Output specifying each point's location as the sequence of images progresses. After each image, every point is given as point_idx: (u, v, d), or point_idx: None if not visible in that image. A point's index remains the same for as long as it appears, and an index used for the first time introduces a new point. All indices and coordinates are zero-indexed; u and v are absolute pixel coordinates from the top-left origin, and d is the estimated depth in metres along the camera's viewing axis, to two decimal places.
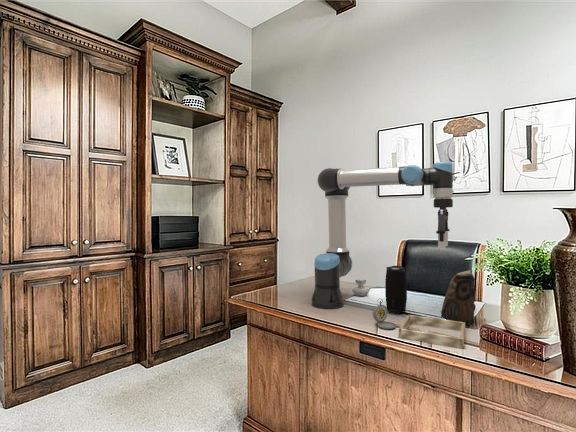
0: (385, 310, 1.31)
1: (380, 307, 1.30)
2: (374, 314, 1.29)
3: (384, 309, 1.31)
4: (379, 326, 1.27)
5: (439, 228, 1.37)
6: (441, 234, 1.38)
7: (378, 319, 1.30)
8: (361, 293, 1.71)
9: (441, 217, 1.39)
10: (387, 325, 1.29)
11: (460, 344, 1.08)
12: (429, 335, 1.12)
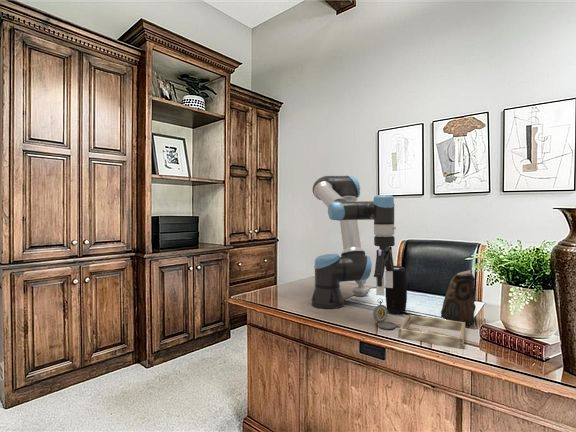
0: (385, 310, 1.31)
1: (380, 307, 1.30)
2: (374, 314, 1.29)
3: (384, 309, 1.31)
4: (379, 326, 1.27)
5: (376, 272, 1.20)
6: (379, 278, 1.21)
7: (378, 319, 1.30)
8: (361, 293, 1.71)
9: (379, 259, 1.22)
10: (387, 325, 1.29)
11: (460, 344, 1.08)
12: (429, 335, 1.12)
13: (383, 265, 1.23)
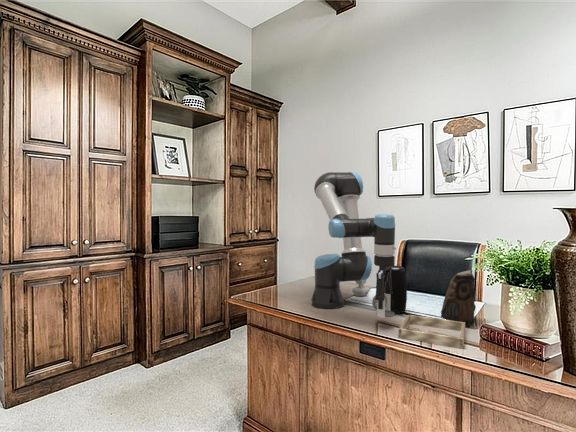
0: (384, 298, 1.32)
1: None
2: (373, 302, 1.30)
3: None
4: None
5: (377, 296, 1.23)
6: (380, 301, 1.24)
7: None
8: (361, 293, 1.71)
9: (379, 282, 1.23)
10: (386, 313, 1.30)
11: (460, 344, 1.08)
12: (429, 335, 1.12)
13: None
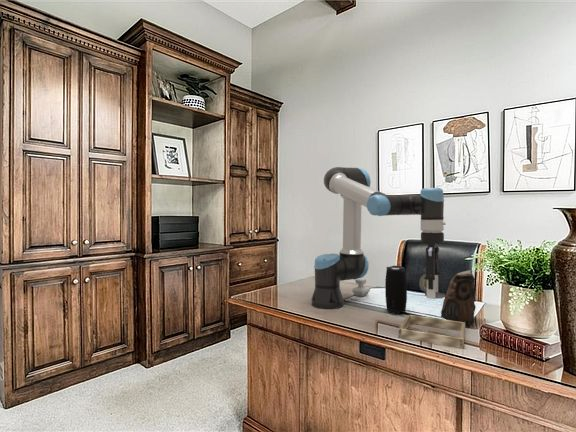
0: None
1: None
2: (421, 283, 1.20)
3: None
4: None
5: (427, 274, 1.13)
6: (430, 281, 1.14)
7: (425, 289, 1.21)
8: (361, 293, 1.71)
9: (429, 260, 1.14)
10: (435, 295, 1.20)
11: (460, 344, 1.08)
12: (429, 335, 1.12)
13: (433, 266, 1.15)
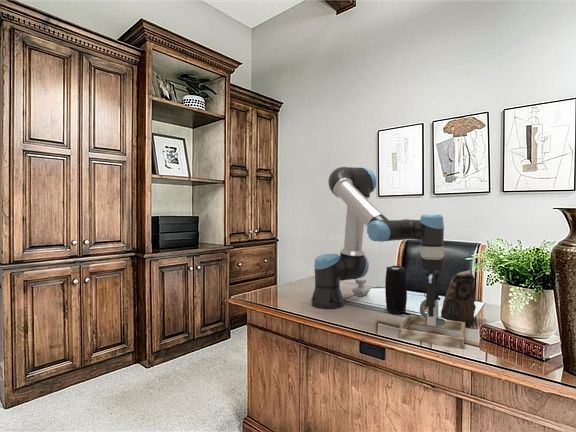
0: None
1: None
2: (421, 309, 1.20)
3: None
4: None
5: (428, 302, 1.13)
6: (430, 308, 1.15)
7: (425, 315, 1.21)
8: (361, 293, 1.71)
9: (430, 287, 1.14)
10: None
11: (460, 344, 1.08)
12: (429, 335, 1.12)
13: (434, 293, 1.16)
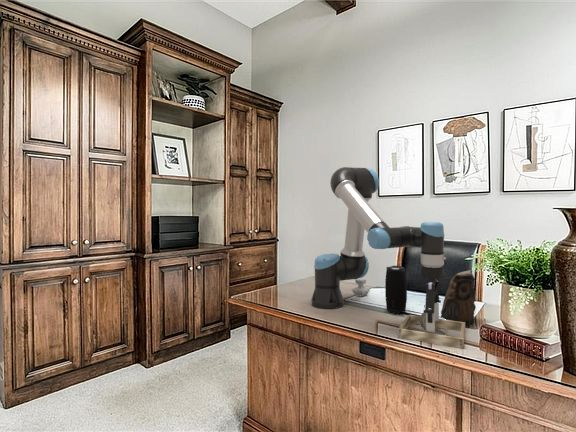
0: None
1: None
2: (421, 321, 1.21)
3: None
4: None
5: (427, 308, 1.12)
6: (429, 314, 1.13)
7: (425, 326, 1.21)
8: (361, 293, 1.71)
9: (429, 293, 1.13)
10: (435, 333, 1.20)
11: (460, 344, 1.08)
12: (429, 335, 1.12)
13: (433, 299, 1.15)
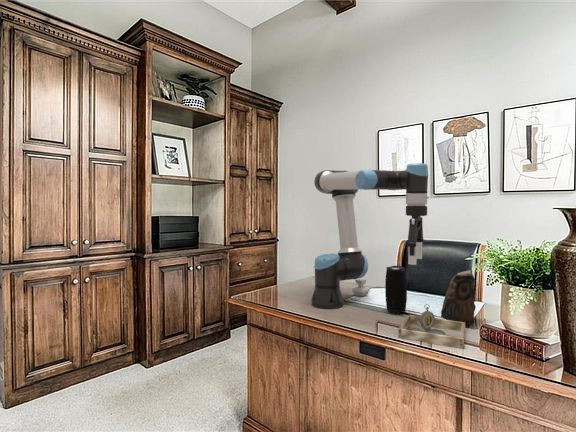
0: (432, 317, 1.23)
1: (427, 313, 1.22)
2: (421, 321, 1.21)
3: (431, 316, 1.23)
4: None
5: (409, 240, 1.18)
6: (411, 247, 1.19)
7: (425, 326, 1.21)
8: (361, 293, 1.71)
9: (412, 228, 1.20)
10: (435, 333, 1.20)
11: (460, 344, 1.08)
12: (429, 335, 1.12)
13: (416, 234, 1.21)
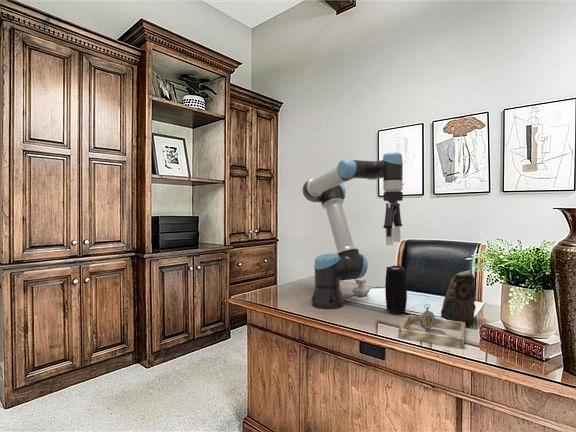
0: (432, 317, 1.23)
1: (427, 313, 1.22)
2: (421, 321, 1.21)
3: (431, 316, 1.23)
4: None
5: (386, 222, 1.29)
6: (388, 229, 1.30)
7: (425, 326, 1.21)
8: (361, 293, 1.71)
9: (388, 211, 1.31)
10: (435, 333, 1.20)
11: (460, 344, 1.08)
12: (429, 335, 1.12)
13: (392, 217, 1.32)
